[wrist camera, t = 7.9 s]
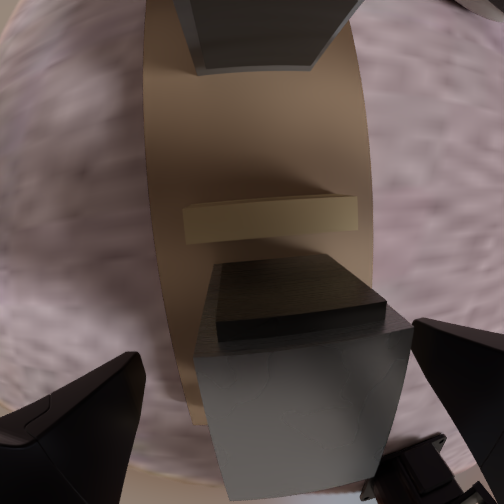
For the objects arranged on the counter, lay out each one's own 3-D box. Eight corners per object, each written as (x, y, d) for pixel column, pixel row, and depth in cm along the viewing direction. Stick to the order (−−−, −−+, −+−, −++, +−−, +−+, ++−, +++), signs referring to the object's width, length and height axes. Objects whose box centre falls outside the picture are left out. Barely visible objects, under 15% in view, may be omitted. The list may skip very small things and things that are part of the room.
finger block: (323, 368, 12) (373, 476, 6) (228, 379, 12) (229, 501, 6) (324, 243, 11) (416, 307, 5) (212, 253, 10) (189, 336, 5)
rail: (349, 387, 14) (407, 496, 7) (195, 405, 14) (181, 531, 6) (327, -10, 9) (387, -108, 2) (155, -3, 9) (109, -110, 2)
